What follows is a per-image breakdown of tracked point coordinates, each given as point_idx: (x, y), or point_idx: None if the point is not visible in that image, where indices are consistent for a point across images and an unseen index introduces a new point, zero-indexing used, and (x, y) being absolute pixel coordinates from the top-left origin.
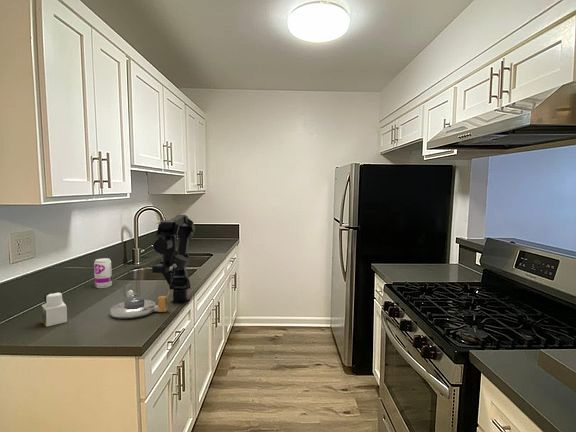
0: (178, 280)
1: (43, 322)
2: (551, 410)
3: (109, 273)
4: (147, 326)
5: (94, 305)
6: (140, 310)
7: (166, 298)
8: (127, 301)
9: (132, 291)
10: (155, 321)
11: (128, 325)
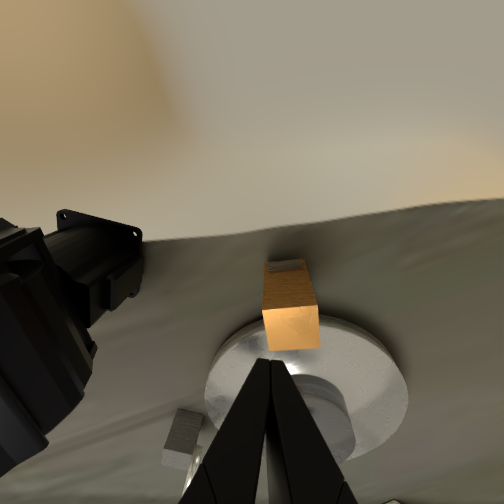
0: (26, 344)
1: None
2: None
3: None
4: (498, 261)
5: None
6: (364, 364)
7: (278, 299)
8: (341, 455)
9: (189, 482)
10: (427, 252)
11: (462, 342)
